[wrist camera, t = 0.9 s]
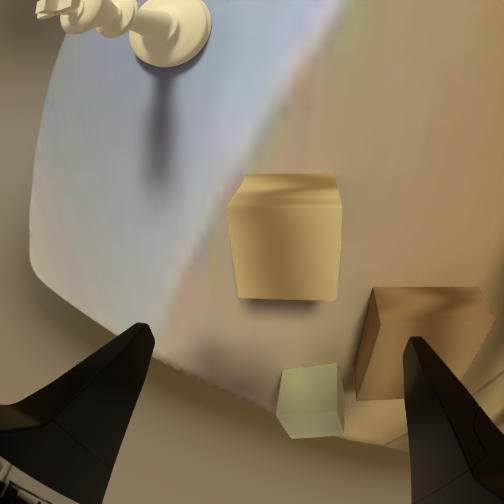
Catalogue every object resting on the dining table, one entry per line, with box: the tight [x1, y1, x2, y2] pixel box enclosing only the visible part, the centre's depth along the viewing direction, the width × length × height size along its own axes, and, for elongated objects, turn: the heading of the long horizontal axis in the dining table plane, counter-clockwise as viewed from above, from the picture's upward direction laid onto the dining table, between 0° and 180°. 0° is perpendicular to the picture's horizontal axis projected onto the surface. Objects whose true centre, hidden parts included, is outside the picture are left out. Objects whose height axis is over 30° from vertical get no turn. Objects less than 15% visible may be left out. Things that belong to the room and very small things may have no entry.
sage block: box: [276, 363, 344, 438], centre depth 24 cm, size 5×5×5 cm
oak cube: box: [226, 174, 342, 301], centre depth 16 cm, size 5×5×5 cm
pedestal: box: [355, 287, 496, 401], centre depth 20 cm, size 9×9×4 cm
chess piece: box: [36, 0, 211, 67], centre depth 9 cm, size 5×5×10 cm
